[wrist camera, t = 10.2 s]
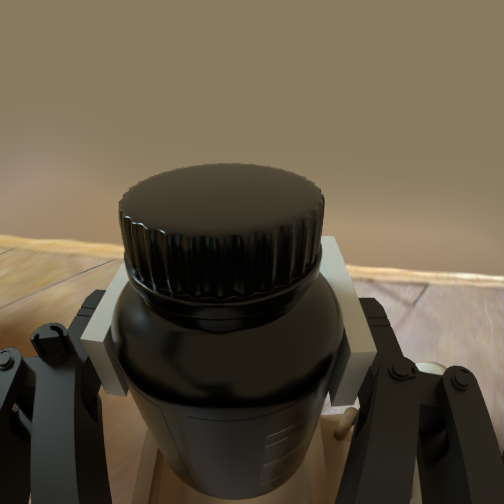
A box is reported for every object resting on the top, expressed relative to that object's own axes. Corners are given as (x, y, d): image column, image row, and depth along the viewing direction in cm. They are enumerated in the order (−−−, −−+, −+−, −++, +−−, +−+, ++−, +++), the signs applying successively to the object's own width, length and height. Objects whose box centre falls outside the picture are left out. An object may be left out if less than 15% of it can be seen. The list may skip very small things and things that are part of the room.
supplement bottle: (283, 375, 17) (310, 150, 11) (324, 484, 11) (445, 249, 5) (158, 391, 16) (107, 162, 10) (168, 510, 10) (26, 290, 4)
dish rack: (140, 535, 14) (72, 495, 8) (162, 414, 23) (132, 320, 18) (426, 523, 14) (519, 465, 8) (399, 412, 23) (452, 322, 18)
